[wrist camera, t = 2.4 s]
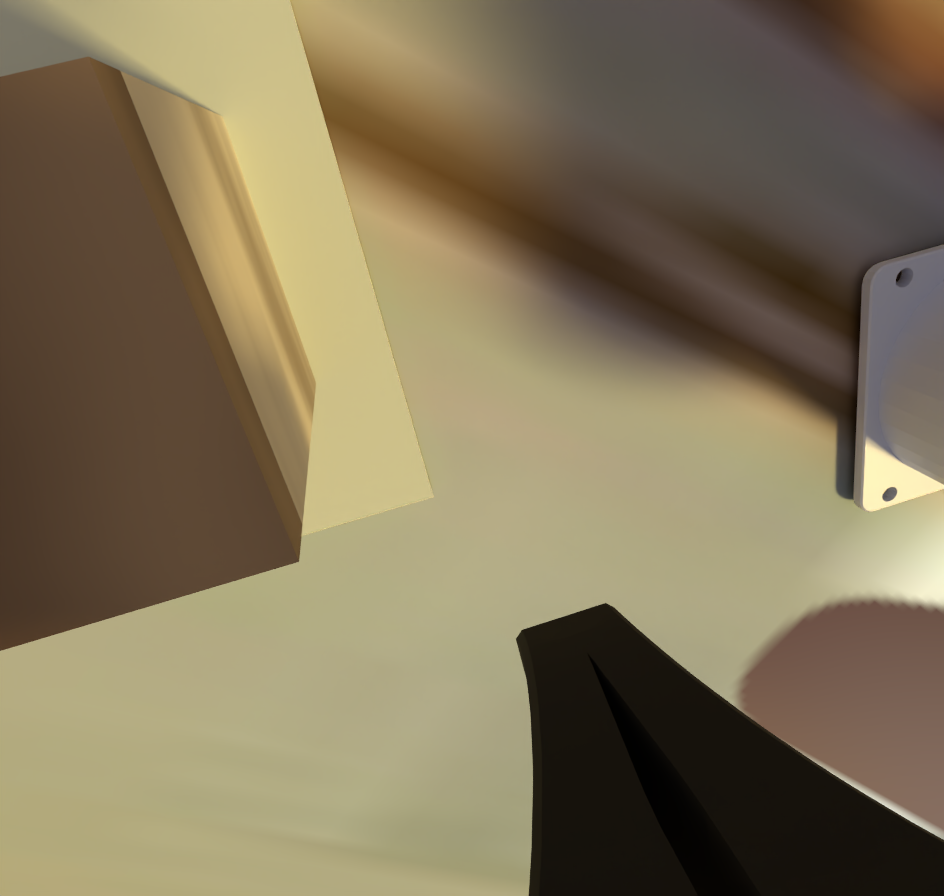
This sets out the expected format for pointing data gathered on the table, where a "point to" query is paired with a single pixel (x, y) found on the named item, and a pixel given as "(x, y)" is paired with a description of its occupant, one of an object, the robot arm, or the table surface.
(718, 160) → the table surface
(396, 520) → the table surface
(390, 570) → the table surface
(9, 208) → the birch block
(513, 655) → the table surface
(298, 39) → the mat
